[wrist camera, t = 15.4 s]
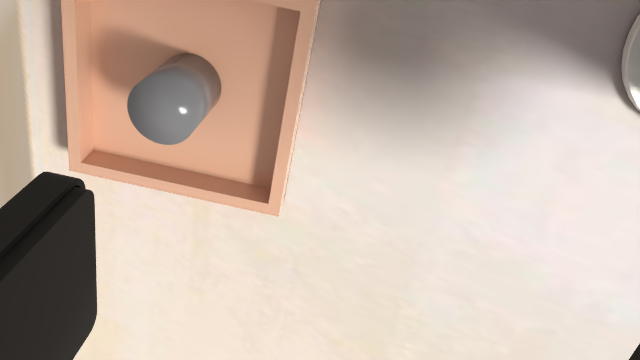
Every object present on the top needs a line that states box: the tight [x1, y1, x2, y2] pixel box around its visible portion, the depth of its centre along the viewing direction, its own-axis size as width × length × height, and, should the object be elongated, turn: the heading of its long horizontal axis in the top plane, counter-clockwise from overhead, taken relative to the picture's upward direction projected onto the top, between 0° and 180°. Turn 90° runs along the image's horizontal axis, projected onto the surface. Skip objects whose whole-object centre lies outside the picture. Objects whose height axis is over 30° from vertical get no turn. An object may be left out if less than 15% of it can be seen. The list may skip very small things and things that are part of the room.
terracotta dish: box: [61, 0, 320, 216], centre depth 43 cm, size 18×18×3 cm
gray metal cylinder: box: [127, 53, 221, 145], centre depth 41 cm, size 5×5×6 cm
